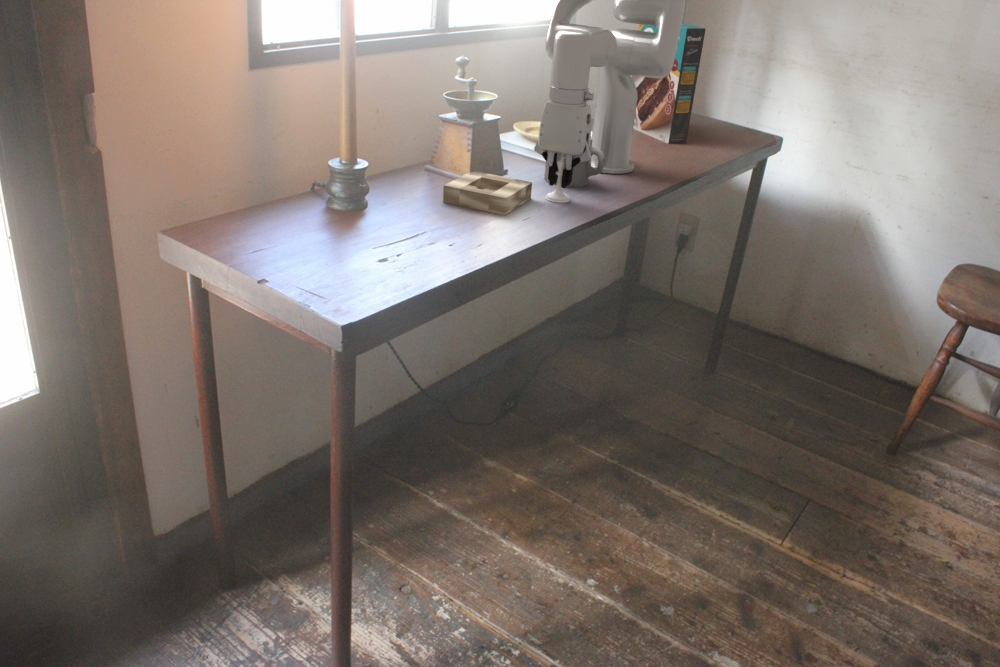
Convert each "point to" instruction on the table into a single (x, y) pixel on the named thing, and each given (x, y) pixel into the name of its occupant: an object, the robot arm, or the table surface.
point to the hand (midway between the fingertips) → (559, 184)
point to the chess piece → (559, 185)
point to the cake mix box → (670, 90)
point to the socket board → (487, 192)
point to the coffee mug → (582, 168)
